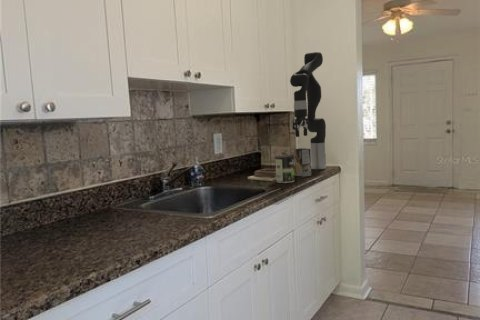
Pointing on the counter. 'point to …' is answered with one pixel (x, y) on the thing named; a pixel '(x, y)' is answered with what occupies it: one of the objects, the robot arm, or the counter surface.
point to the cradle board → (264, 175)
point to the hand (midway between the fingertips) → (301, 136)
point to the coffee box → (302, 162)
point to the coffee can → (285, 169)
